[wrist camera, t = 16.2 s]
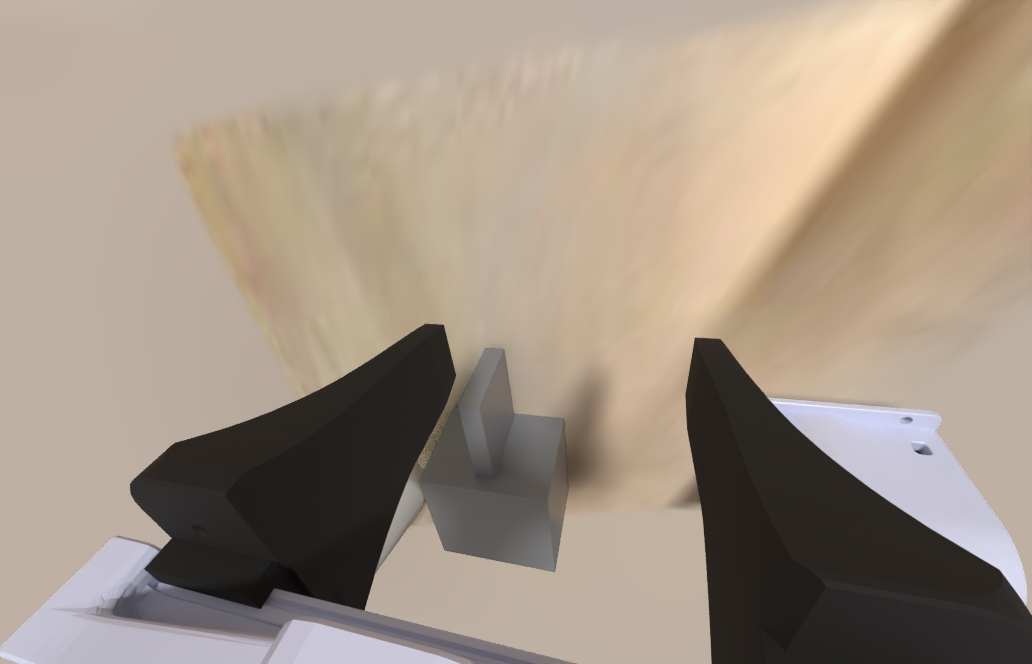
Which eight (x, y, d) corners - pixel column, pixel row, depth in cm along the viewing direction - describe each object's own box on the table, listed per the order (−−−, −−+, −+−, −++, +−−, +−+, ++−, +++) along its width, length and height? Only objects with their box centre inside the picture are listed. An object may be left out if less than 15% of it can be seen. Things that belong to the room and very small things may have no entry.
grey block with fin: (568, 490, 33) (555, 572, 28) (472, 476, 35) (444, 550, 30) (560, 348, 25) (539, 427, 20) (437, 340, 27) (391, 410, 22)
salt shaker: (443, 491, 38) (369, 664, 28) (389, 487, 40) (300, 648, 29) (420, 446, 35) (326, 623, 24) (362, 444, 37) (253, 608, 26)
